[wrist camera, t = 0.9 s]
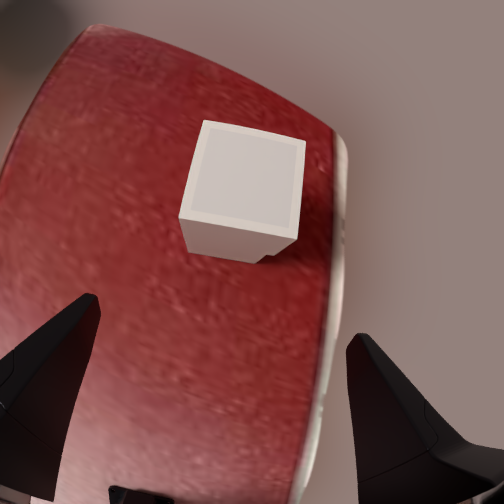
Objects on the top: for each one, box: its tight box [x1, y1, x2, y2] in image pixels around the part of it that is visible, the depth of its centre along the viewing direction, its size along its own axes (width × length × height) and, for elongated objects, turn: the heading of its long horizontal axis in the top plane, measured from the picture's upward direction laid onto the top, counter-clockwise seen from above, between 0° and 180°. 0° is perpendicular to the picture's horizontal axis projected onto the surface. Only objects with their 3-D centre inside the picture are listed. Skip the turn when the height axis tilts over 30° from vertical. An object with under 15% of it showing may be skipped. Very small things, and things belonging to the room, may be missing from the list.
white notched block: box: [179, 120, 306, 264], centre depth 19 cm, size 6×6×10 cm
